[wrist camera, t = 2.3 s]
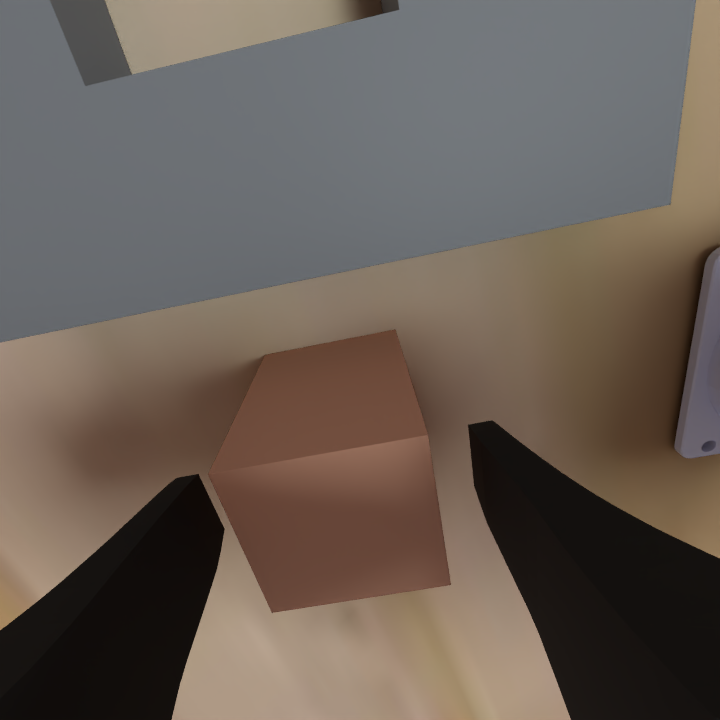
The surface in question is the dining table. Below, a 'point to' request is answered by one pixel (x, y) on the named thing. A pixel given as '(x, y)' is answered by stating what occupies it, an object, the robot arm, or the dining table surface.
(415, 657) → the dining table surface
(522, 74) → the socket board
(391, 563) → the square peg
